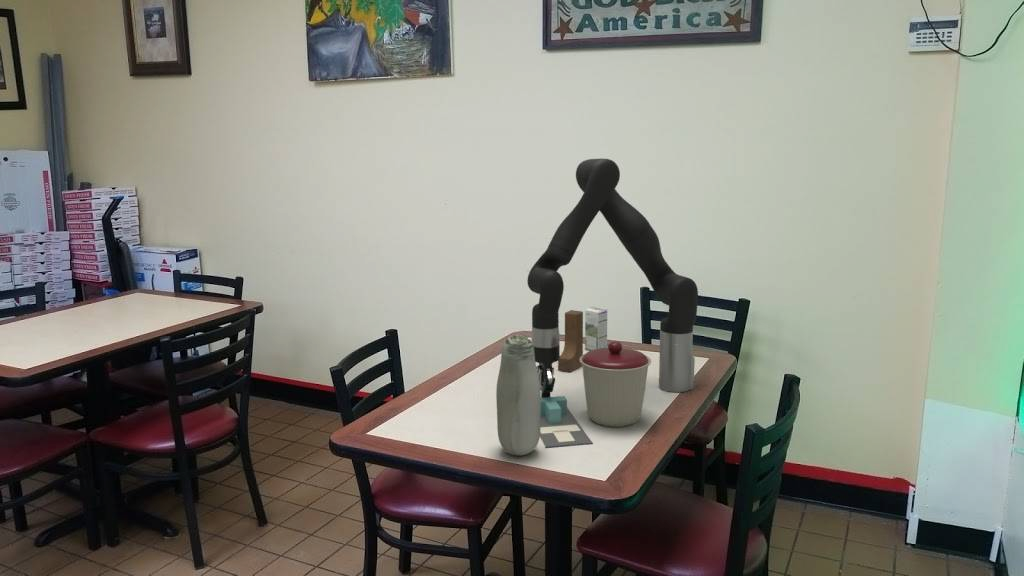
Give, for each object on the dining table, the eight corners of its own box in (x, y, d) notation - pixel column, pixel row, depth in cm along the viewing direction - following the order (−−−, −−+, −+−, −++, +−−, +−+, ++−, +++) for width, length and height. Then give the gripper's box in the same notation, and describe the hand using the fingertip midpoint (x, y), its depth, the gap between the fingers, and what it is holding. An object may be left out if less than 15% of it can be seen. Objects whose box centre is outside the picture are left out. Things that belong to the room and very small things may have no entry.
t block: (564, 410, 200) (564, 396, 199) (572, 422, 191) (572, 407, 191) (531, 412, 199) (531, 398, 198) (538, 425, 190) (537, 410, 189)
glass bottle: (543, 460, 170) (542, 341, 165) (498, 462, 169) (496, 343, 164) (538, 443, 180) (537, 330, 174) (496, 444, 179) (493, 331, 174)
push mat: (564, 404, 206) (564, 403, 206) (592, 444, 179) (592, 442, 179) (523, 407, 204) (523, 406, 204) (545, 448, 177) (545, 446, 177)
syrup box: (607, 349, 259) (608, 308, 256) (597, 352, 255) (597, 311, 252) (594, 346, 263) (595, 306, 260) (584, 349, 259) (584, 309, 256)
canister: (663, 419, 194) (665, 341, 190) (621, 439, 181) (622, 356, 177) (607, 403, 206) (608, 329, 202) (565, 421, 194) (564, 342, 190)
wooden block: (570, 373, 233) (570, 317, 230) (557, 370, 236) (557, 315, 232) (583, 365, 241) (583, 311, 237) (570, 363, 243) (570, 309, 240)
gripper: (565, 348, 192) (564, 412, 196) (553, 335, 205) (553, 395, 208) (536, 350, 191) (536, 414, 194) (527, 337, 204) (527, 397, 207)
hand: (545, 404), depth 201 cm, fingers closed
